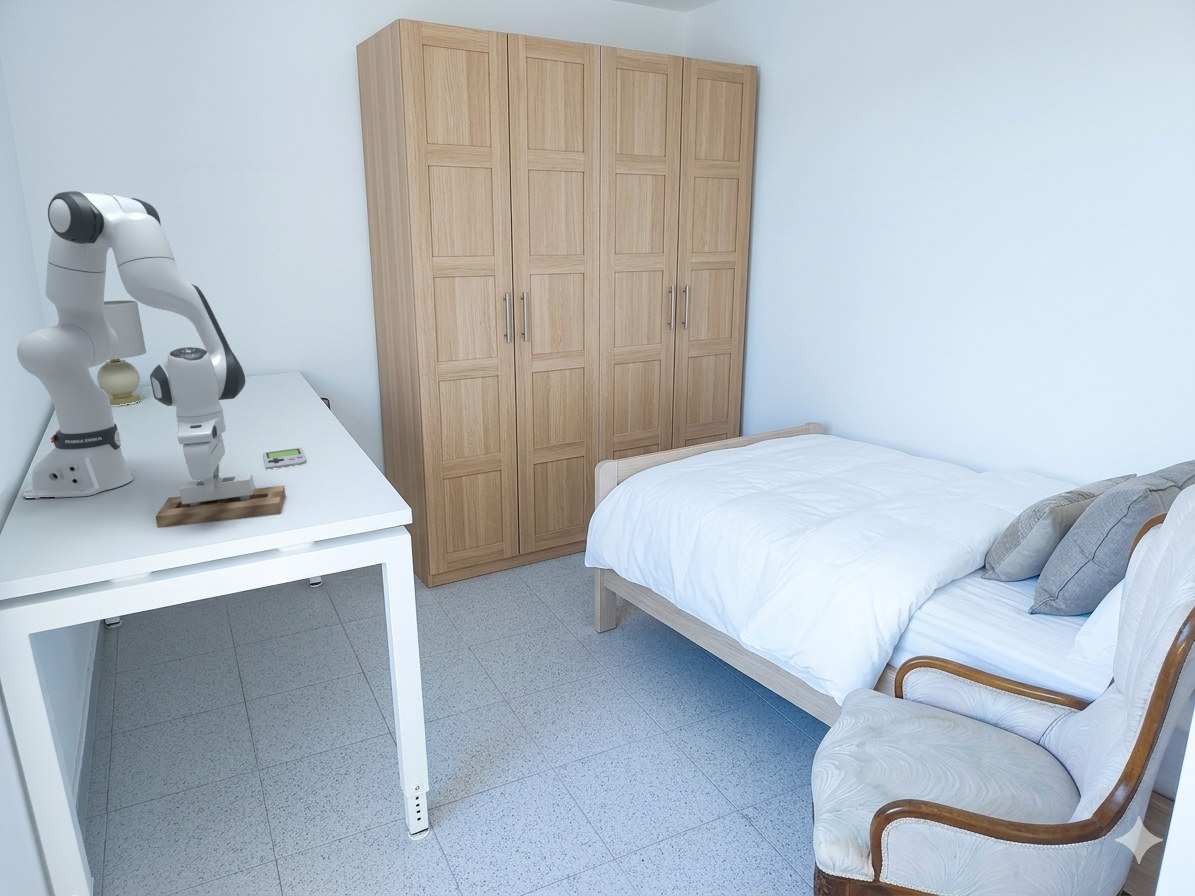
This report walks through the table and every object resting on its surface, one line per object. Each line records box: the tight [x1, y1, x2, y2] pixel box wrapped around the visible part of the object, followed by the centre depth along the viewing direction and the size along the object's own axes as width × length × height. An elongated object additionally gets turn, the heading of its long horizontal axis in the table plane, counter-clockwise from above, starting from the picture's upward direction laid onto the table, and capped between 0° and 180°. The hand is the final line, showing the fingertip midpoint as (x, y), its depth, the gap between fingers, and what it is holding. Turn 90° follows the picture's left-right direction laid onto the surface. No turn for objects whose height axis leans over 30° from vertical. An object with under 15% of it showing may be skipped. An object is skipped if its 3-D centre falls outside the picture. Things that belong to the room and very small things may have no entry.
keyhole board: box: [154, 485, 287, 528], centre depth 172 cm, size 24×12×2 cm, turn 106°
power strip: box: [178, 473, 255, 507], centre depth 171 cm, size 14×4×6 cm, turn 106°
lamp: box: [96, 299, 147, 405], centre depth 277 cm, size 20×20×35 cm
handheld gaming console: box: [262, 447, 307, 470], centre depth 209 cm, size 10×2×15 cm
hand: (213, 487), depth 171 cm, fingers closed on power strip, 4 cm apart
